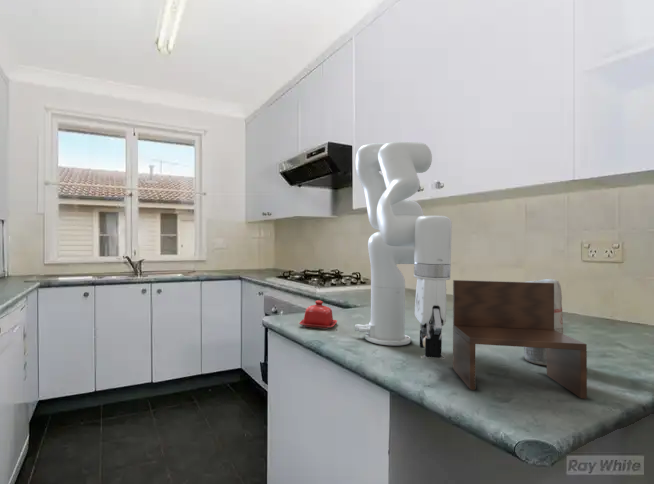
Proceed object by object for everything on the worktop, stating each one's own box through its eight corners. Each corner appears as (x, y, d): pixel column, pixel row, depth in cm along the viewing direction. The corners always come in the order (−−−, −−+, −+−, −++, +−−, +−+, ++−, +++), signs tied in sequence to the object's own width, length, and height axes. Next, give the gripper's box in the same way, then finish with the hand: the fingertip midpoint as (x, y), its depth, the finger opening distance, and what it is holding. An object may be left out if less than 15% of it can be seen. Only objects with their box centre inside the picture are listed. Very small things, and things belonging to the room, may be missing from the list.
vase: (414, 350, 86) (415, 325, 86) (439, 352, 85) (440, 326, 85) (419, 358, 81) (420, 331, 81) (446, 360, 80) (446, 333, 80)
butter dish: (338, 323, 129) (338, 298, 129) (332, 331, 118) (333, 304, 118) (306, 321, 133) (306, 297, 133) (297, 328, 122) (298, 301, 122)
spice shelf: (469, 389, 72) (470, 286, 72) (452, 368, 84) (453, 279, 84) (587, 398, 68) (586, 289, 69) (551, 375, 80) (551, 282, 81)
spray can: (546, 369, 84) (546, 280, 85) (514, 358, 92) (514, 277, 93) (574, 366, 87) (573, 280, 87) (540, 355, 95) (540, 276, 95)
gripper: (408, 266, 92) (406, 339, 92) (421, 275, 75) (419, 364, 75) (440, 267, 90) (438, 341, 91) (461, 277, 73) (459, 368, 74)
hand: (429, 351), depth 83 cm, fingers closed on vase, 5 cm apart
